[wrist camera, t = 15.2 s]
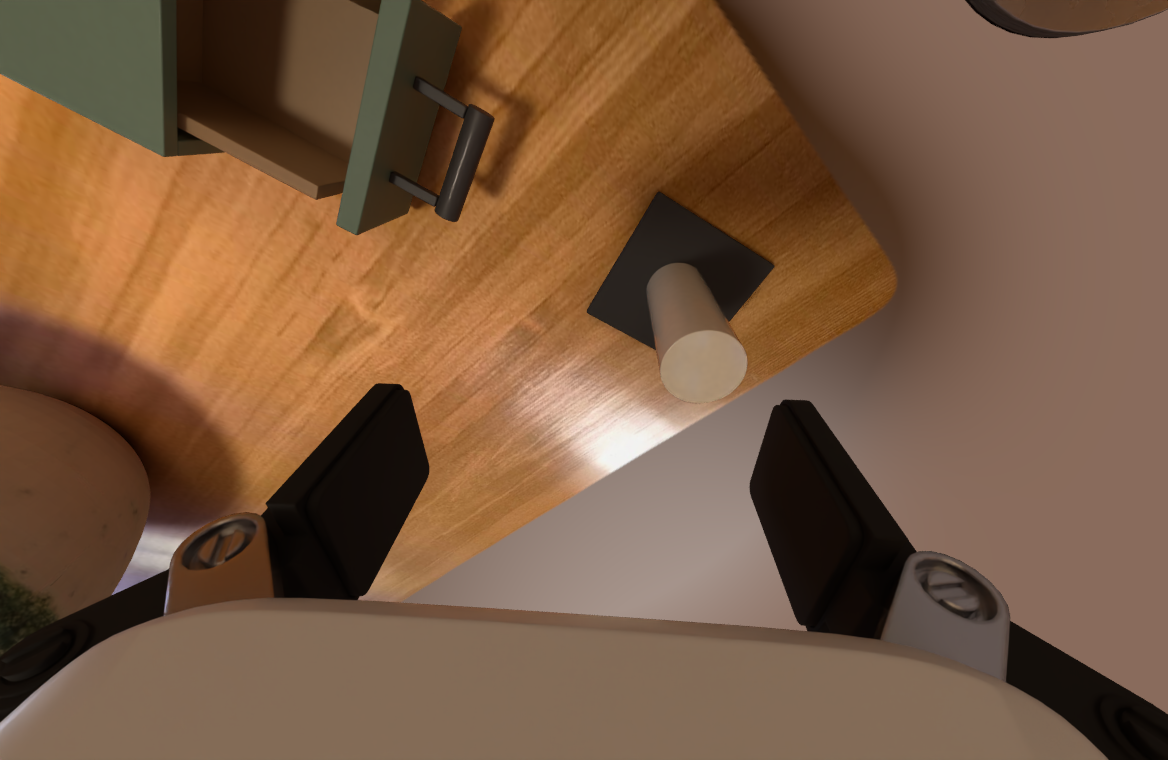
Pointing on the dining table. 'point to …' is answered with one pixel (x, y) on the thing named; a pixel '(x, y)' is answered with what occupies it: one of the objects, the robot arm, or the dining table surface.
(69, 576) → the vase
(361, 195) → the drawer
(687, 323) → the cylinder
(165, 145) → the cabinet
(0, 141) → the dining table surface
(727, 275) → the mat
